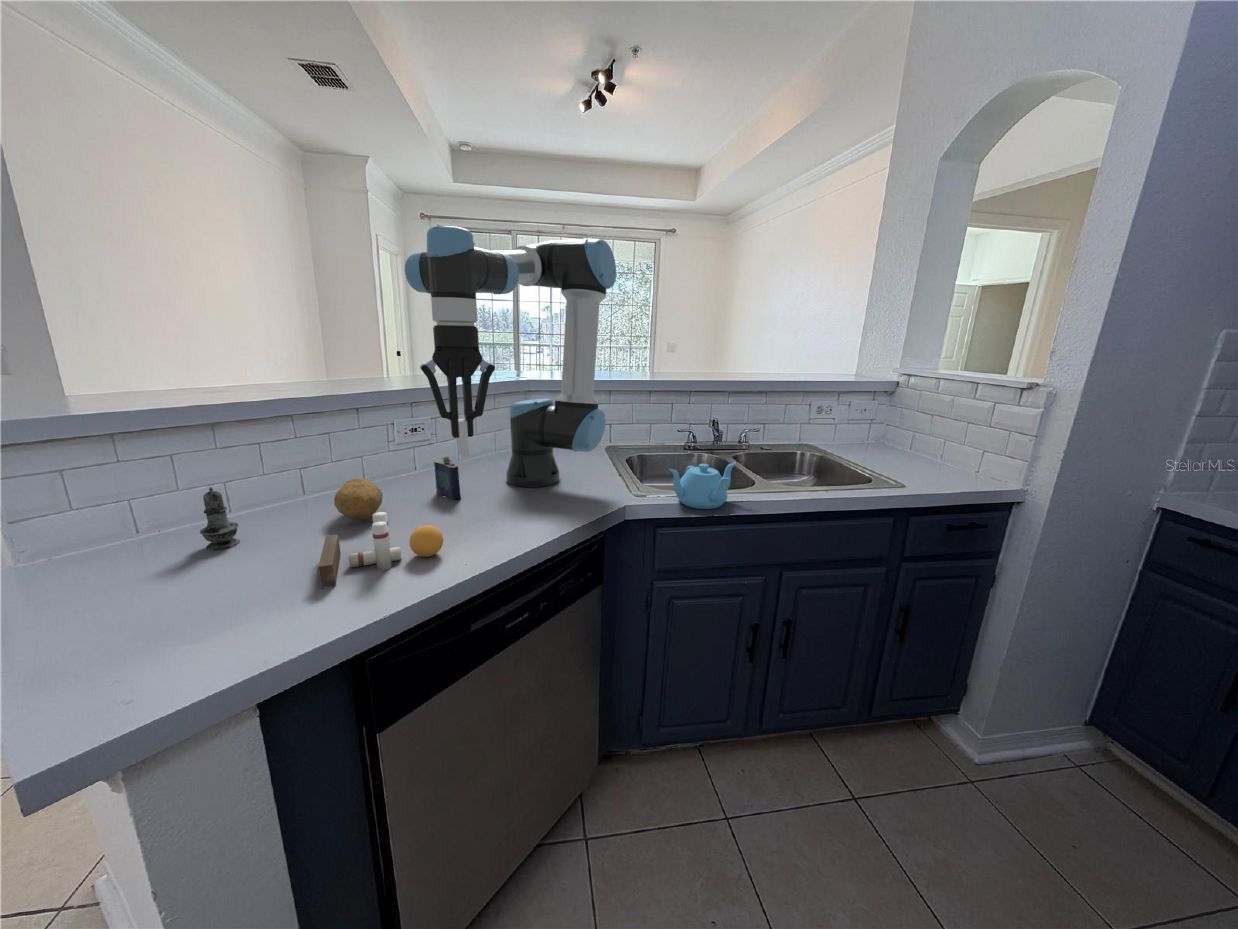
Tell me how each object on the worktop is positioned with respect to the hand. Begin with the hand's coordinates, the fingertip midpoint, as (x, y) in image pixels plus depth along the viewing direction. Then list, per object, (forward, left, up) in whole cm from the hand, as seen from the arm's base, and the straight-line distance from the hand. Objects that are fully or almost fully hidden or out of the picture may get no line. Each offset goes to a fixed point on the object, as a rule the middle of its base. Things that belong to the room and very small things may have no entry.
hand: (463, 453), depth 91 cm
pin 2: (+15, +2, -19) cm, 25 cm away
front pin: (+13, 0, -18) cm, 22 cm away
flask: (0, -32, -20) cm, 38 cm away
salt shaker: (+44, -20, -20) cm, 52 cm away
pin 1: (+15, -2, -19) cm, 25 cm away
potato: (+20, -26, -20) cm, 38 cm away
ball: (+8, 0, -16) cm, 18 cm away
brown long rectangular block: (+24, 0, -19) cm, 31 cm away
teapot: (-59, -4, -20) cm, 62 cm away
